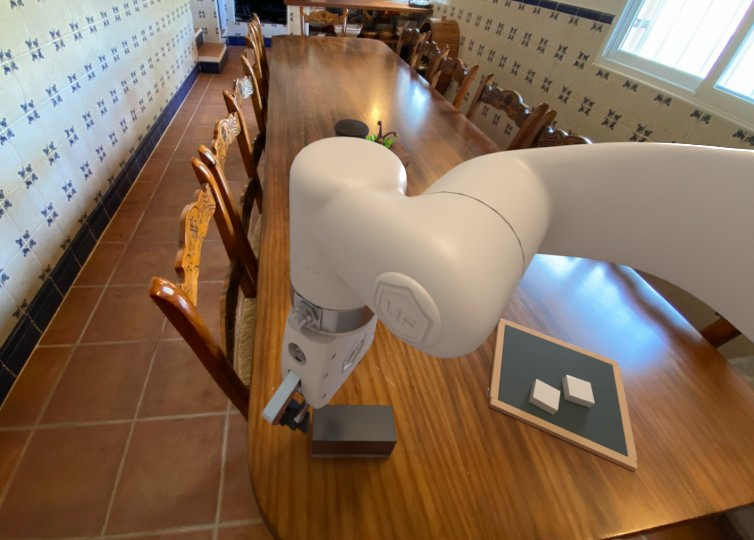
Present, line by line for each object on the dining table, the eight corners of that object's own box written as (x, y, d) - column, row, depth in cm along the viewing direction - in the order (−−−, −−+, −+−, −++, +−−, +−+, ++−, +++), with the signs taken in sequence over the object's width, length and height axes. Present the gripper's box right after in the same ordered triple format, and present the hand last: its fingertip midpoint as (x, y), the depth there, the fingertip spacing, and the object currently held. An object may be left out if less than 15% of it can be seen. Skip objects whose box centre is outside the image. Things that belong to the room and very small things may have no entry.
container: (333, 201, 97) (339, 131, 84) (326, 183, 103) (331, 116, 91) (363, 199, 98) (374, 130, 86) (355, 181, 105) (364, 115, 92)
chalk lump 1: (555, 395, 57) (560, 391, 56) (552, 415, 55) (557, 410, 54) (532, 383, 59) (536, 378, 58) (528, 401, 56) (532, 396, 55)
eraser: (384, 423, 53) (392, 405, 50) (389, 457, 50) (397, 441, 46) (311, 422, 53) (313, 404, 49) (310, 457, 49) (312, 440, 45)
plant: (398, 142, 127) (404, 111, 120) (414, 170, 112) (423, 137, 105) (343, 141, 124) (346, 110, 117) (352, 170, 110) (356, 137, 102)
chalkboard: (615, 364, 64) (619, 361, 63) (635, 472, 51) (639, 470, 50) (497, 320, 70) (499, 317, 69) (487, 406, 56) (489, 403, 56)
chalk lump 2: (585, 387, 59) (590, 382, 58) (589, 408, 56) (595, 403, 55) (561, 379, 60) (566, 374, 59) (564, 399, 57) (569, 394, 56)
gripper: (302, 397, 22) (299, 482, 33) (421, 254, 33) (389, 353, 44) (222, 332, 26) (243, 429, 37) (355, 220, 37) (341, 320, 48)
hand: (323, 387), depth 41 cm, fingers open, 9 cm apart
